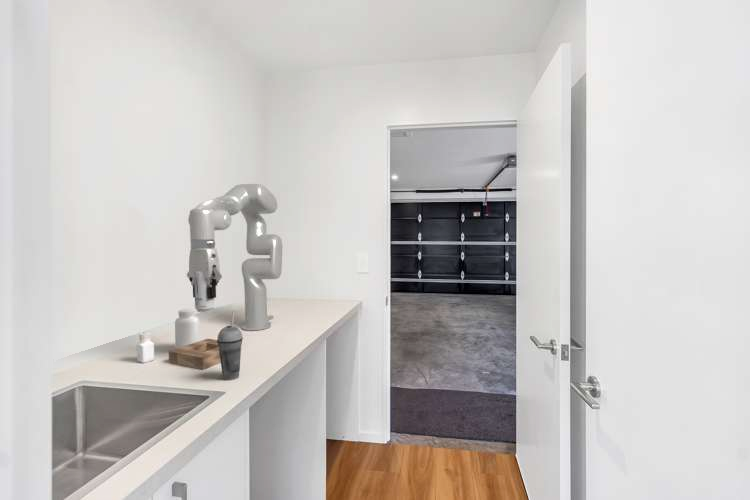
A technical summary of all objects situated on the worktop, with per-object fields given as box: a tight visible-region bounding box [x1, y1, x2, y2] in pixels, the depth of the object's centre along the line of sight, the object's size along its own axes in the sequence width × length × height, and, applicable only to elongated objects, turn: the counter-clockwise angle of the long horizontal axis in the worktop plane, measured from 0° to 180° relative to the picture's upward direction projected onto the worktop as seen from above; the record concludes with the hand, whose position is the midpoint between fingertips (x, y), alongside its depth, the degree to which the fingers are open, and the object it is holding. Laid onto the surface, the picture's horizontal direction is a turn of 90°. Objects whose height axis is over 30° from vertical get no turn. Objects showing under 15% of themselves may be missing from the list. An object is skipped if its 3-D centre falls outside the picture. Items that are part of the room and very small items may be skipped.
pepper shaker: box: [136, 331, 155, 364], centre depth 129 cm, size 4×4×10 cm
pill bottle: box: [174, 308, 200, 349], centre depth 141 cm, size 8×8×15 cm
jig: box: [168, 338, 221, 371], centre depth 131 cm, size 16×16×4 cm
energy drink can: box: [194, 269, 215, 313], centre depth 130 cm, size 6×6×15 cm
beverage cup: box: [216, 310, 244, 381], centre depth 114 cm, size 7×7×20 cm
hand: (204, 297), depth 131 cm, fingers closed on energy drink can, 6 cm apart
